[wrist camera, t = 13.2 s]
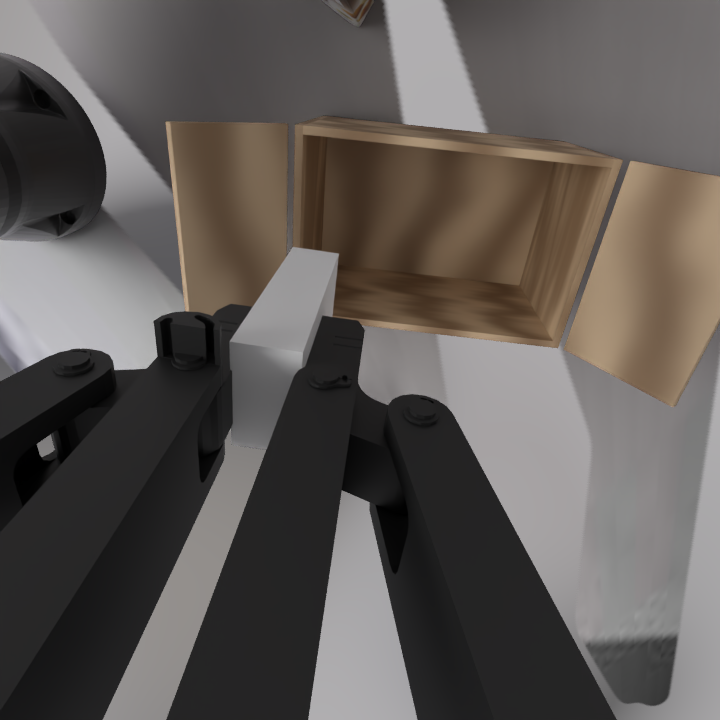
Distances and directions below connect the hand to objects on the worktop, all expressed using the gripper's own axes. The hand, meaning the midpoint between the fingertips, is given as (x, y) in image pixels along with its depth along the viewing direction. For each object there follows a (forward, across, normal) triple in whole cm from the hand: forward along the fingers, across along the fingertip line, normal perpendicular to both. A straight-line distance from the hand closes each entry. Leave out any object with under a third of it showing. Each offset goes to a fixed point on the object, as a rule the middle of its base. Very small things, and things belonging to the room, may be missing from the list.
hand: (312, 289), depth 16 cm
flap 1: (+14, -7, -3) cm, 15 cm away
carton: (+29, +6, -3) cm, 30 cm away
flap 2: (+14, +19, -2) cm, 23 cm away
